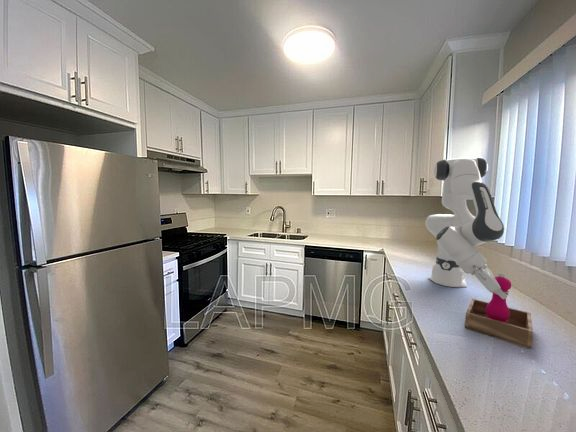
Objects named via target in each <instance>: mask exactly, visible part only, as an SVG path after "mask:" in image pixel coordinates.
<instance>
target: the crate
mask: <svg viewBox="0 0 576 432" xmlns="http://www.w3.org/2000/svg"><path fill="white" fill-rule="evenodd" d="M489 302H490V301H484V300H479V299H476V298H471V300H470V302H469V305H468V307H467V309H466V312H465V318H464V319H465V320H464V321H465V322H464V329H466V330H469V331H472V332H476V333H478V334H479V333H480V334H482V335H485V336H489V337H491V338H495V339H498V340H501V341H504V342H507V343H511V344H513V343H514V344H513V345H516V344H517V346H520V347H524V348H525V349H526V348H527V349H528V350H532V343H533V336H534V328H533V321H532V319H533V318H532V313H531V312H528V311H524V310H520V309H516V308H513V307H509V306H508V309H509V311H510V317H509V318H508V319H507V323H504V322H500V321H497V320H493V319H490V318H486V316H487V315H488V314H487V313H486V311H485V309H486V306H487V304H488V303H489Z"/></svg>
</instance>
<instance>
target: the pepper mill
mask: <svg viewBox="0 0 576 432" xmlns="http://www.w3.org/2000/svg"><path fill="white" fill-rule="evenodd" d="M494 277H495V279H496V280H497V282H498V284H499V285H500V287H501V288H500V289H501V290H502V291H503V292H504V293H505V294H506V295H507V296H509V293H510V292H509V290H510V289H511V288H512V282H511V281H510V279H508V278H506V277H505V273H503V272H499V273H498V275H497V276H494ZM488 302H489V303H488V304H487V306H486V309H485V311H486V313H487V314H488V315H487V316H486V318H490V319H493V320H497V321H500V322H504V323H507V319H508V318H509V317H510V311H509V309H508V307H509V306H508V304H507V298H505V299H502V298H501V297H500V296H499V295H498V294H496V293H495V292H493V293H492V296H491V300H490V301H488Z"/></svg>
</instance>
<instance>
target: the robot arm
mask: <svg viewBox="0 0 576 432" xmlns="http://www.w3.org/2000/svg"><path fill="white" fill-rule="evenodd" d="M488 170H489V165H488V162H487V159H486V158H484V157H479V156H476V157H459V158H458V157H456V158H450V159H440V160H438V161H437V162H436V163H435V165H434V168H433V174H434V176H435V179H436V180H439V181H442V182H443V183H442V192H441V204H442V206H443V207H444V208H446V209H448V210H450V211H451V212H453V214H446V213H445V214H441V213H438V214H437V213H436V214H430V215H428V216H427V217H426V219H425V223H424V225H425V228H426V230H427V231H429V232H430V233H431V234H432V236H434V238H435V240H436V243H437V256H436V259H435V264H433V265H432V270H431V275H429V276H428V278H427V279H428V280H430V281H432V282H433V283H435V284H437V285H441V286H445V287H450V288H451V287H452V288H467V286H468V285H467V281H466V279H465V277H464V273H465V274H471V275H472V276H475V278H476V279H477V280H478V281H479V283H480V284H482V285H483V287H484V288H485V289H486V290H487V291H488V292H490V293H491V294H493V292H495V293H496V294H498V295H499V296H500V297H501V298H502V299H505V298H506V299H507V298H508V295H506V294H505V293H504V292H503V291H502V290H501V289H500V288H501V287H500V285H499V284H498V282H497V280H496V279H495V277H496V276H495V275H494V274H493V272H492V270H491V269H490V268H489V267H488V265H487V264H486V263H487V262H488V259H487V258H486V257H484V256H483V254H481V253H480V252H479V250H477V249H476V247H477V246H480V245H483V244H485V243H488V242H493V241H496V240H499V239H501V238H502V237H503V235H504V233H505V232H504V231H505V227H504V223H503V222H502V219H501V217H500V216H499V214H498V212H497V210H496V206H495V203H494V200H493V197H492V194H491V191H490V189H489V187H488V186H487V185H486V183H484V182H482V178H483V177H485V176H486V175H487V171H488ZM467 200H470V201H471V200H472V201H473V205H474V208H475V212H476V215H473V214H472V213H471V212H470V210H469V208H468V205H467Z"/></svg>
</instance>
